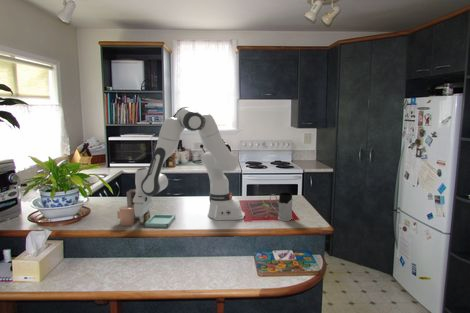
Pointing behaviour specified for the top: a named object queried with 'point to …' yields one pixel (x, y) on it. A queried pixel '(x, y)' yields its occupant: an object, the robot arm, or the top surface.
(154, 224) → the tray
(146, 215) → the walnut block
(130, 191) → the coffee box
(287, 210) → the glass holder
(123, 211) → the tan ball with tab
